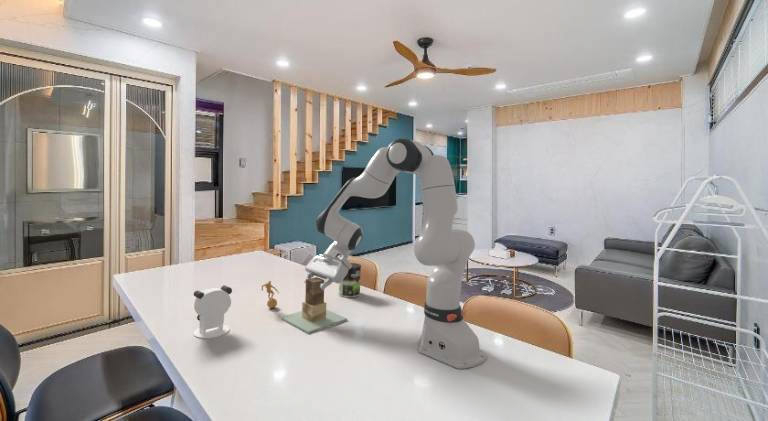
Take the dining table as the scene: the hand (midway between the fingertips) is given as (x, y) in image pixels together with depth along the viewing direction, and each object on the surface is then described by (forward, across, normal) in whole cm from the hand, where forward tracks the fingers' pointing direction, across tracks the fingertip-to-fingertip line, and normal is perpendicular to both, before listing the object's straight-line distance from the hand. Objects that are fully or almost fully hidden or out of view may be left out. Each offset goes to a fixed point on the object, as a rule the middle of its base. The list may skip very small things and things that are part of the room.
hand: (313, 286), depth 134 cm
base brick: (+8, 0, +9) cm, 13 cm away
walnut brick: (+4, 0, +5) cm, 7 cm away
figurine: (+14, -22, +6) cm, 26 cm away
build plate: (+9, 0, +10) cm, 13 cm away
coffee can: (-13, -15, +32) cm, 38 cm away
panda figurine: (+32, -15, -12) cm, 37 cm away
